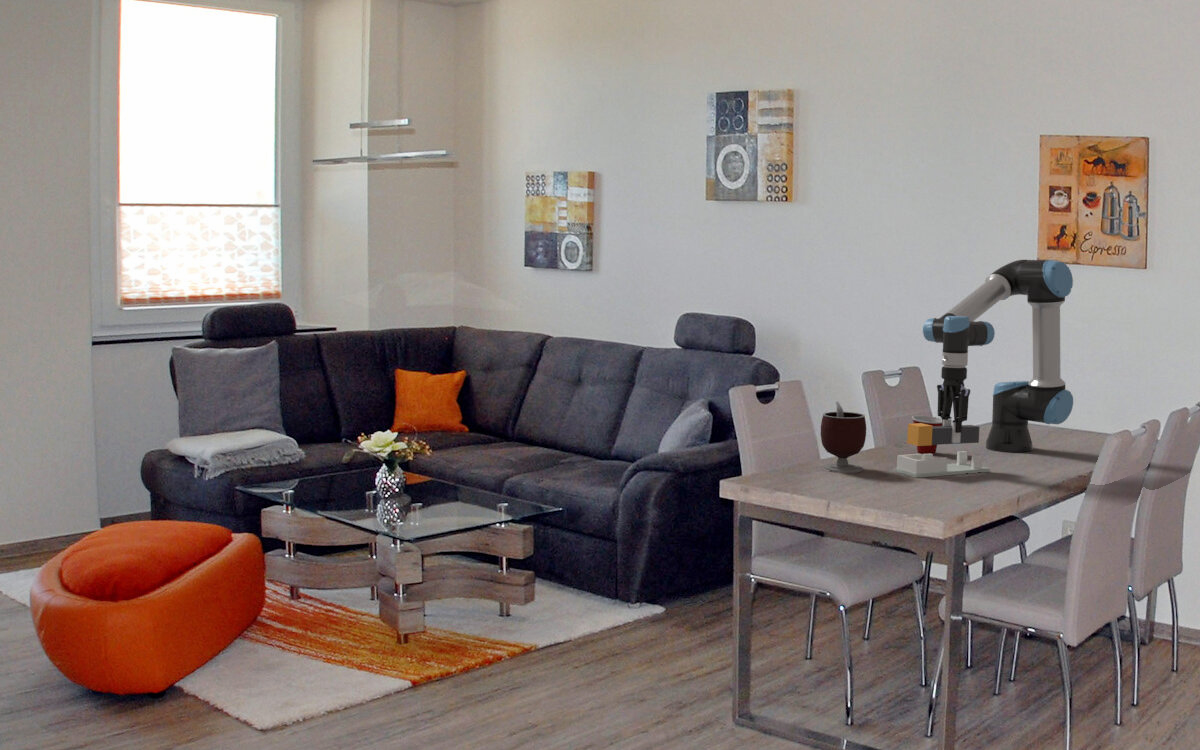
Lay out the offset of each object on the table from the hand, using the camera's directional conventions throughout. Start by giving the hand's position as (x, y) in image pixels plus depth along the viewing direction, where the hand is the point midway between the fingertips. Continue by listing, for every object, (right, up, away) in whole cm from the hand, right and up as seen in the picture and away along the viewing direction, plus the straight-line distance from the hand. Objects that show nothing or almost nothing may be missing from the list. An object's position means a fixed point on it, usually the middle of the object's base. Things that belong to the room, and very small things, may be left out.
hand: (951, 441), depth 388 cm
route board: (-3, -9, 0) cm, 10 cm away
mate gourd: (-33, -9, +4) cm, 34 cm away
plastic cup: (+1, -6, +32) cm, 32 cm away
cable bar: (-2, 0, -1) cm, 3 cm away
